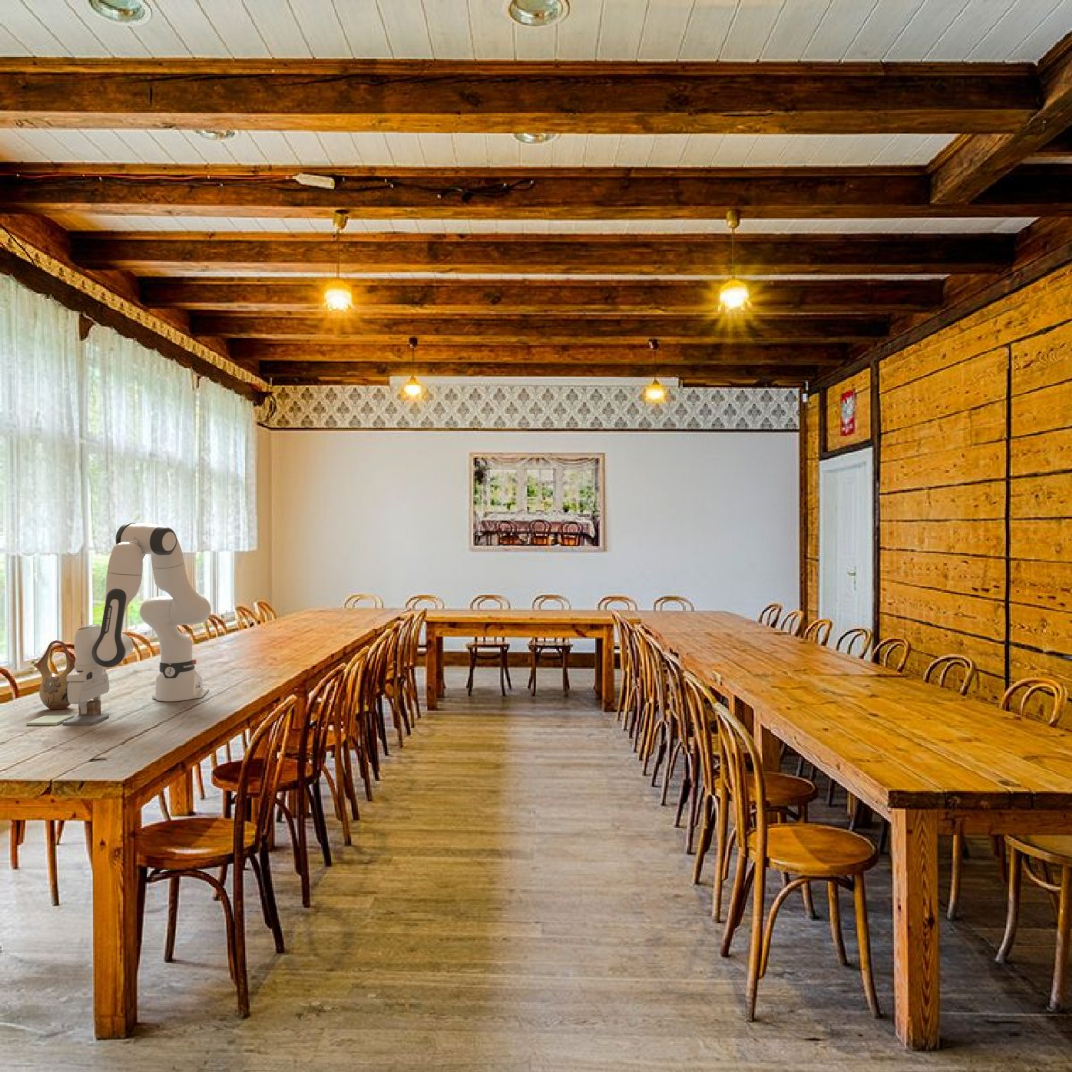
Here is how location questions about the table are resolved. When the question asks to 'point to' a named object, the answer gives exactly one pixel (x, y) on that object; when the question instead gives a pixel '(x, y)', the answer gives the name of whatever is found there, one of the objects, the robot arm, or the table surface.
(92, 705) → the walnut block
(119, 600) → the robot arm
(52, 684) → the ceramic vessel
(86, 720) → the pad
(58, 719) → the pad
